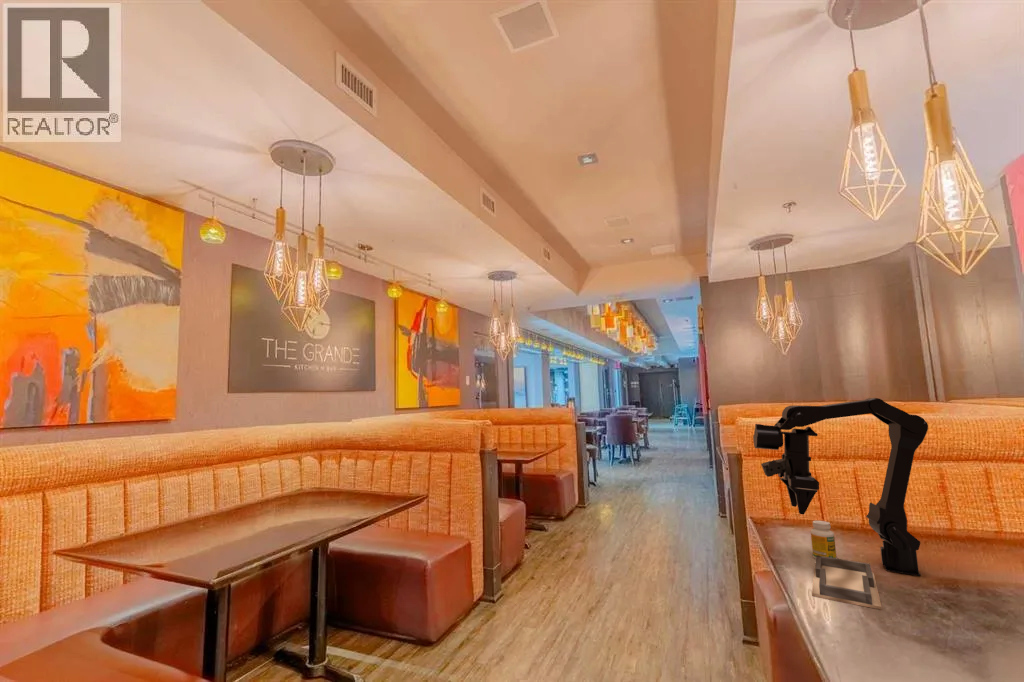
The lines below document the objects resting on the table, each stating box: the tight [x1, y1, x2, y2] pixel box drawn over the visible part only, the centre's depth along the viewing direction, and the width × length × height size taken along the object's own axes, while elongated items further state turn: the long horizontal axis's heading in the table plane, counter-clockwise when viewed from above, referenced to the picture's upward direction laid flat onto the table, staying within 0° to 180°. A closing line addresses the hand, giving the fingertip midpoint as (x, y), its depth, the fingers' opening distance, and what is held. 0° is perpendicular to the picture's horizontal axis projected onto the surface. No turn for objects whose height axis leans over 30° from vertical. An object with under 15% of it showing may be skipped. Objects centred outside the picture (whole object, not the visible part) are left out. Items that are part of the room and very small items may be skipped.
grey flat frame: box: [811, 555, 883, 611], centre depth 105 cm, size 12×22×3 cm, turn 145°
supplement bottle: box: [810, 520, 838, 560], centre depth 123 cm, size 5×5×10 cm
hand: (797, 510), depth 122 cm, fingers open, 9 cm apart
